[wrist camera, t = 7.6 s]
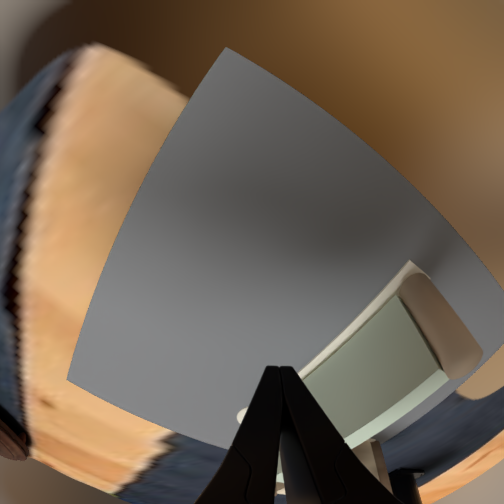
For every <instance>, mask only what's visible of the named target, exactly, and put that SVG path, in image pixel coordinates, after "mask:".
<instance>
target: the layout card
mask: <svg viewBox="0 0 504 504" xmlns="http://www.w3.org/2000/svg"><path fill="white" fill-rule="evenodd" d="M415 273H423V274H425V275H426V276H427V277H428V278H429V279H430V280H431V282H432V283H433V284H434V285H435V287H436V288H437V289H438V290H439V292H440V293H441V294H442V295H443V297H444V298H445V299H446V300H447V302H448V303H449V304H450V306H451V307H452V308H453V310H454V311H455V312H456V313H457V315H458V316H459V317H460V319H461V320H462V322H463V323H464V324H465V326H466V327H467V328H468V330H469V331H470V333H471V334H472V335H473V337H474V338H475V340H476V341H477V342H478V344H479V345H480V347H481V348H482V350H483V356H482V358H481V360H480V362H479V363H478V365H477V366H476V367H475V368H474V369H473V370H472V371H471V372H469V373H468V374H467V375H465V376H463V377H461V378H459V379H454V380H451V379H449V380H448V381H447V382H446V383H445V384H443V385H442V386H441V387H440V388H439V389H437V390H436V391H435V392H434V393H433V394H431V395H430V396H429V397H427V398H426V399H425V400H424V401H422V402H421V403H420V404H418V405H417V406H416V407H414V408H413V409H412V410H410V411H409V412H408V413H406V414H405V415H404V416H402V417H401V418H399V419H398V420H396V421H395V422H394V423H392V424H391V425H389V426H388V427H386V428H385V429H383V430H382V431H380V432H379V433H377V434H376V435H374V436H372V437H371V438H369V439H368V440H366V441H369V442H374V441H379V442H380V445H381V444H382V443H384V442H385V441H387V440H388V439H390V438H392V437H393V436H395V435H396V434H398V433H399V432H401V431H402V430H404V429H405V428H406V427H408V426H409V425H411V424H412V423H414V422H415V421H416V420H418V419H419V418H420V417H422V416H423V415H424V414H426V413H427V412H428V411H430V410H431V409H432V408H434V407H435V406H436V405H437V404H439V403H440V402H441V401H442V400H444V399H445V398H446V397H447V396H449V395H450V394H451V393H452V392H453V391H455V390H456V389H457V388H458V387H459V386H460V385H461V384H463V383H464V382H465V381H466V380H467V379H468V378H469V377H470V376H471V375H473V373H475V372H476V371H477V370H478V369H479V368H480V367H481V366H482V365H483V364H484V363H485V362H486V361H487V360H488V359H489V358H490V357H491V356H492V355H493V354H494V353H495V352H496V351H497V350H498V349H499V348H500V347H501V346H502V345H503V344H504V291H503V289H502V288H501V286H500V285H499V284H498V283H497V281H496V280H495V279H494V277H493V276H492V274H491V273H490V272H489V271H488V269H487V268H486V266H485V265H484V264H483V263H482V261H481V260H480V259H479V258H478V256H477V255H476V254H475V253H474V252H473V250H472V249H471V248H470V247H469V245H468V244H467V243H466V242H465V241H464V240H463V238H462V237H461V236H460V235H459V234H458V233H457V231H456V230H455V229H454V228H453V227H452V226H451V225H450V224H449V222H448V221H447V220H446V219H445V218H444V217H443V216H442V215H441V214H440V213H439V212H438V211H437V209H436V208H435V207H434V206H433V205H432V204H431V203H430V202H429V201H428V200H427V199H426V198H425V197H424V196H423V195H422V194H421V193H420V192H419V191H418V190H417V189H416V188H415V187H414V186H413V185H412V184H411V183H410V182H409V181H408V180H407V179H406V178H404V176H402V175H401V174H400V173H399V172H398V171H397V170H396V169H395V168H394V167H393V166H392V165H391V164H389V163H388V162H387V161H386V160H385V159H384V158H383V157H382V156H380V155H379V154H378V153H377V152H376V151H375V150H374V149H372V148H371V147H370V146H369V145H368V144H367V143H365V142H364V141H363V140H362V139H361V138H359V137H358V136H357V135H356V134H355V133H353V132H352V131H351V130H349V129H348V128H347V127H346V126H345V125H343V124H342V123H341V122H339V121H338V120H337V119H336V118H334V117H333V116H332V115H330V114H329V113H328V112H326V111H325V110H324V109H322V108H321V107H320V106H318V105H317V104H315V103H314V102H313V101H311V100H310V99H308V98H307V97H306V96H304V95H303V94H301V93H300V92H298V91H297V90H296V89H294V88H293V87H291V86H290V85H288V84H286V83H285V82H284V81H282V80H280V79H279V78H277V77H276V76H274V75H273V74H271V73H270V72H268V71H266V70H265V69H263V68H262V67H260V66H258V65H256V64H255V63H253V62H252V61H250V60H248V59H247V58H245V57H243V56H241V55H240V54H238V53H236V52H234V51H233V50H231V49H229V48H227V47H226V48H225V49H224V50H223V52H222V53H221V54H220V56H219V57H218V59H217V60H216V61H215V63H214V64H213V66H212V67H211V69H210V70H209V71H208V73H207V74H206V76H205V77H204V79H203V80H202V82H201V83H200V85H199V86H198V88H197V89H196V91H195V92H194V94H193V96H192V97H191V99H190V100H189V102H188V103H187V105H186V107H185V108H184V110H183V111H182V113H181V115H180V116H179V118H178V120H177V121H176V123H175V125H174V126H173V128H172V130H171V131H170V133H169V135H168V137H167V138H166V140H165V142H164V144H163V145H162V147H161V149H160V151H159V153H158V154H157V156H156V158H155V160H154V162H153V164H152V165H151V167H150V169H149V171H148V173H147V175H146V177H145V179H144V181H143V183H142V185H141V187H140V189H139V191H138V193H137V195H136V197H135V199H134V201H133V203H132V205H131V207H130V209H129V211H128V213H127V215H126V217H125V220H124V222H123V224H122V226H121V228H120V231H119V233H118V235H117V237H116V240H115V242H114V244H113V247H112V249H111V251H110V254H109V256H108V258H107V261H106V263H105V266H104V268H103V271H102V273H101V276H100V278H99V281H98V284H97V286H96V289H95V292H94V294H93V297H92V300H91V302H90V305H89V308H88V311H87V314H86V317H85V320H84V323H83V326H82V329H81V332H80V335H79V338H78V341H77V344H76V348H75V351H74V354H73V358H72V361H71V365H70V368H69V372H68V376H67V379H66V380H68V381H70V382H71V383H73V384H75V385H77V386H78V387H80V388H82V389H84V390H86V391H88V392H89V393H91V394H93V395H95V396H97V397H99V398H101V399H103V400H105V401H107V402H109V403H111V404H113V405H115V406H117V407H119V408H121V409H123V410H125V411H127V412H129V413H132V414H134V415H136V416H138V417H141V418H143V419H145V420H147V421H150V422H152V423H155V424H157V425H159V426H162V427H164V428H167V429H170V430H172V431H175V432H177V433H180V434H183V435H186V436H188V437H191V438H194V439H197V440H200V441H203V442H206V443H209V444H212V445H215V446H218V447H222V448H225V449H228V450H229V448H230V446H231V444H232V441H233V439H234V437H235V435H236V433H237V431H238V429H239V426H240V424H241V422H242V420H243V417H244V415H245V413H246V411H247V409H248V406H249V404H250V402H251V399H252V397H253V395H254V393H255V390H256V388H257V386H258V383H259V381H260V379H261V376H262V374H263V372H264V369H265V367H266V366H267V365H276V366H279V367H280V366H292V367H293V368H294V369H295V371H296V372H297V374H298V375H299V376H300V378H301V379H302V381H303V380H304V379H306V378H307V377H308V376H309V375H310V374H312V373H313V372H314V371H315V370H316V369H318V368H319V367H320V366H321V365H322V364H323V363H325V362H326V361H327V360H328V359H329V358H330V357H331V356H333V355H334V354H335V353H336V352H337V351H338V350H339V349H340V348H341V347H343V346H344V345H345V344H346V343H347V342H348V341H349V340H350V339H351V338H352V337H353V336H354V335H356V334H357V333H358V332H359V331H360V330H361V329H362V328H363V327H364V326H365V325H366V324H367V323H368V322H369V321H370V320H371V319H372V318H373V317H374V316H375V315H376V314H377V313H378V312H379V311H380V310H381V309H382V308H383V307H384V306H385V305H386V304H387V303H388V302H389V301H390V300H391V299H392V298H393V297H394V296H395V295H397V296H398V297H399V298H401V297H400V287H401V285H402V283H403V282H404V280H405V279H406V278H408V277H409V276H410V275H412V274H415Z"/></svg>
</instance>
